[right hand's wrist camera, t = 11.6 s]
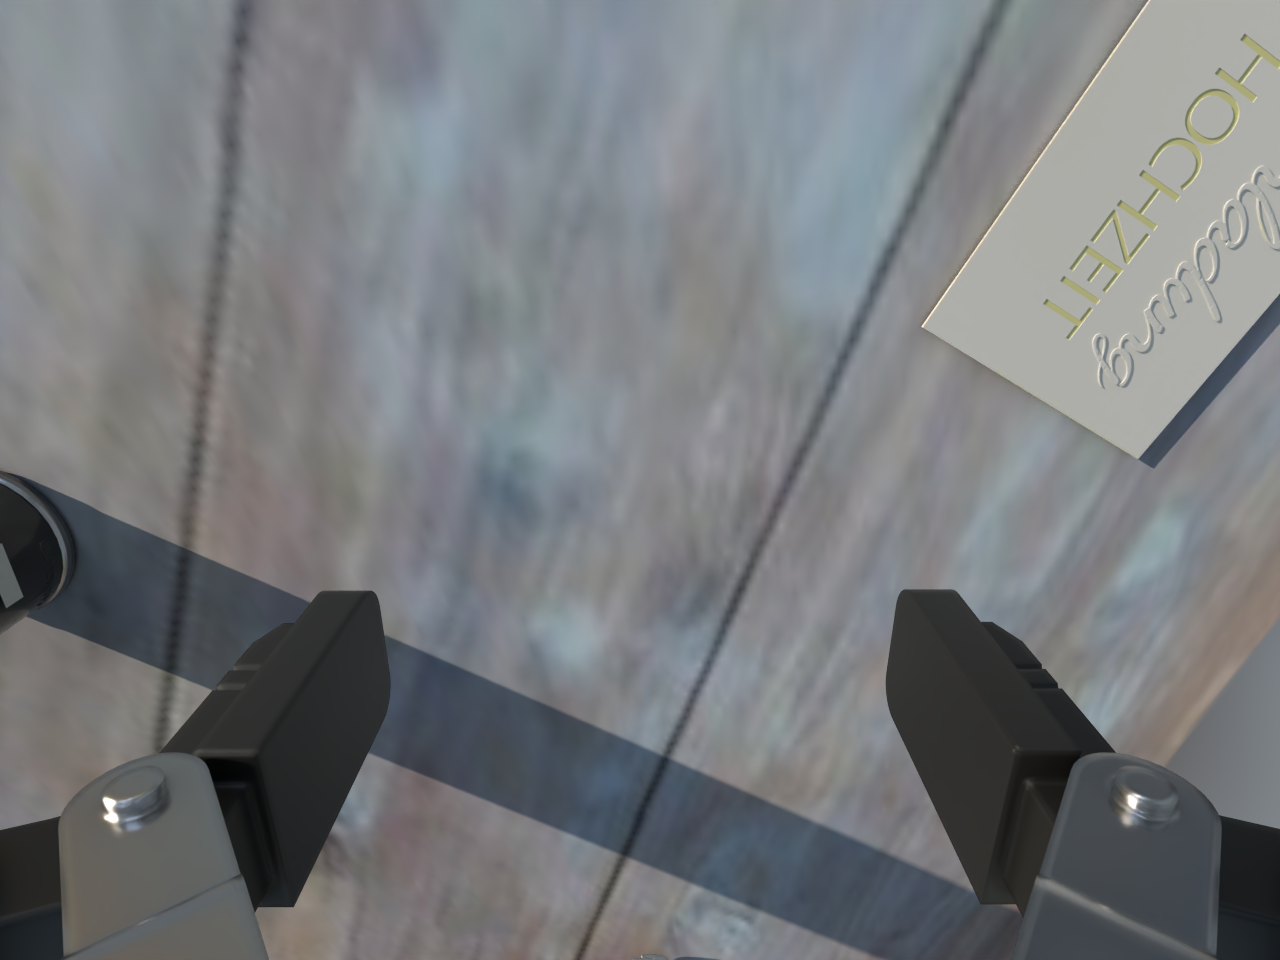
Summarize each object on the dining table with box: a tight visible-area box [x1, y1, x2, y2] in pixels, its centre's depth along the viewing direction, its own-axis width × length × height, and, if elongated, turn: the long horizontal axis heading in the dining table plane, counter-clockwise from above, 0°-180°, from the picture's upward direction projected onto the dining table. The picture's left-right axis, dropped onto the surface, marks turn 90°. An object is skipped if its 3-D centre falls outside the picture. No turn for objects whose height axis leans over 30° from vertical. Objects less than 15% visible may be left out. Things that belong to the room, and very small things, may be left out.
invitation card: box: [922, 0, 1280, 459], centre depth 37 cm, size 21×1×15 cm
